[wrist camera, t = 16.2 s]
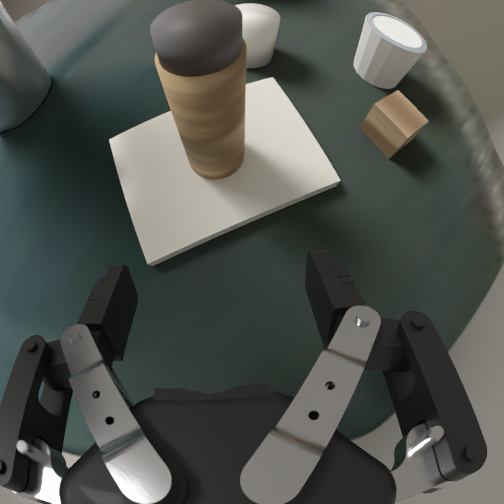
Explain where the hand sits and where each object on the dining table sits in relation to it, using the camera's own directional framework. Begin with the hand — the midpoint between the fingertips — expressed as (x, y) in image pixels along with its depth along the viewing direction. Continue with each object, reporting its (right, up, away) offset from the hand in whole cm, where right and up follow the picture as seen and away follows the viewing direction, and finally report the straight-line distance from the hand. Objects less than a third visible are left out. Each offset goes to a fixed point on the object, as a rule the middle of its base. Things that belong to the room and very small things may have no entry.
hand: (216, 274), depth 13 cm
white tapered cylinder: (+16, +22, +14) cm, 30 cm away
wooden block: (+14, +12, +12) cm, 22 cm away
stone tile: (-1, +9, +11) cm, 14 cm away
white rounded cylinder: (+1, +22, +13) cm, 26 cm away
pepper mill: (-1, +9, +9) cm, 13 cm away
